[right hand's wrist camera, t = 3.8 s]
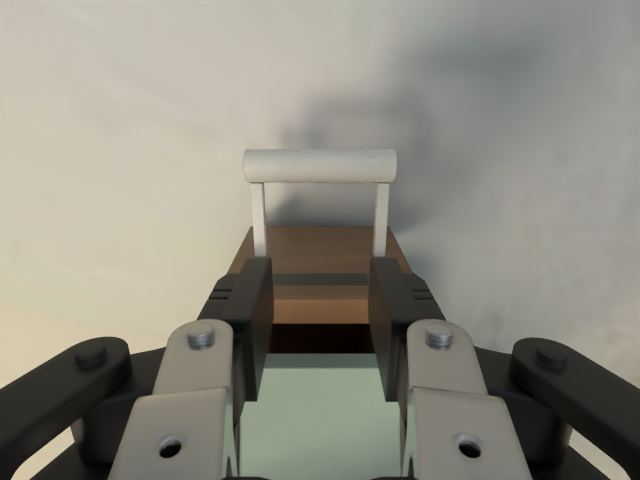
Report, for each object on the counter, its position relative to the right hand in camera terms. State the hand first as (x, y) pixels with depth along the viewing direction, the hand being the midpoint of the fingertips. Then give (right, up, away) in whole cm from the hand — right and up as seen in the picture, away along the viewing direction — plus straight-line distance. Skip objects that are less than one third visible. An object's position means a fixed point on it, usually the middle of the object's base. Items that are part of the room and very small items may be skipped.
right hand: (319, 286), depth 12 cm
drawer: (0, -1, +14) cm, 14 cm away
